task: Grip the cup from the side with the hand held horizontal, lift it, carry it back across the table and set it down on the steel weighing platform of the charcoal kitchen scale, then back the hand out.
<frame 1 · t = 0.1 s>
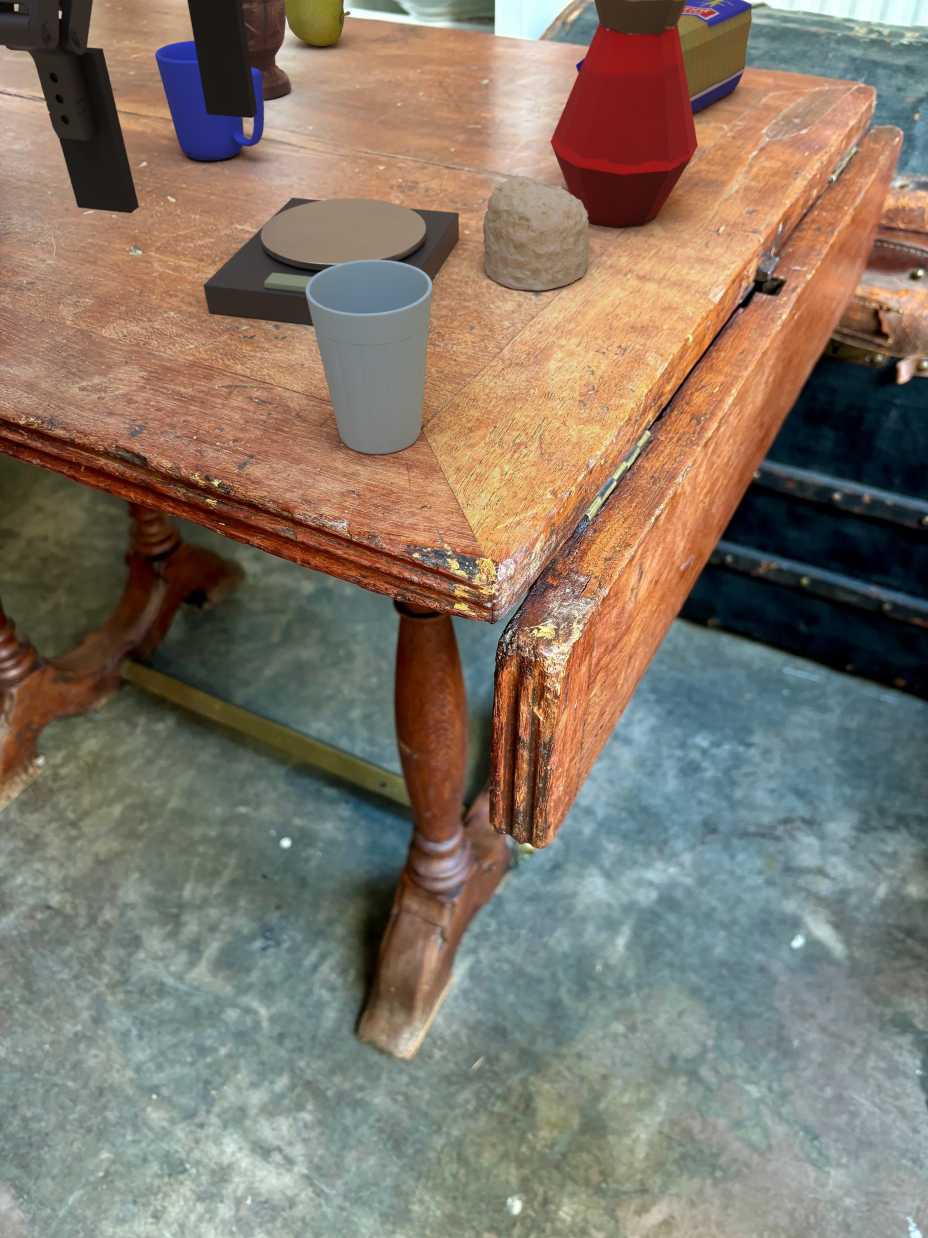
hand: (176, 157, 50), 20 cm above the table, tool pointing down, fingers open, 13 cm apart
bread: (663, 110, 118), on the table
cup: (380, 434, 68), on the table
apple: (321, 46, 140), on the table
red faceted vase: (617, 210, 96), on the table
rock: (535, 270, 86), on the table
scale: (341, 273, 86), on the table
mortar and pestle: (261, 97, 123), on the table
mug: (227, 157, 108), on the table
scale platform: (344, 232, 85), point 3 cm above the table, slide at 0.0 cm
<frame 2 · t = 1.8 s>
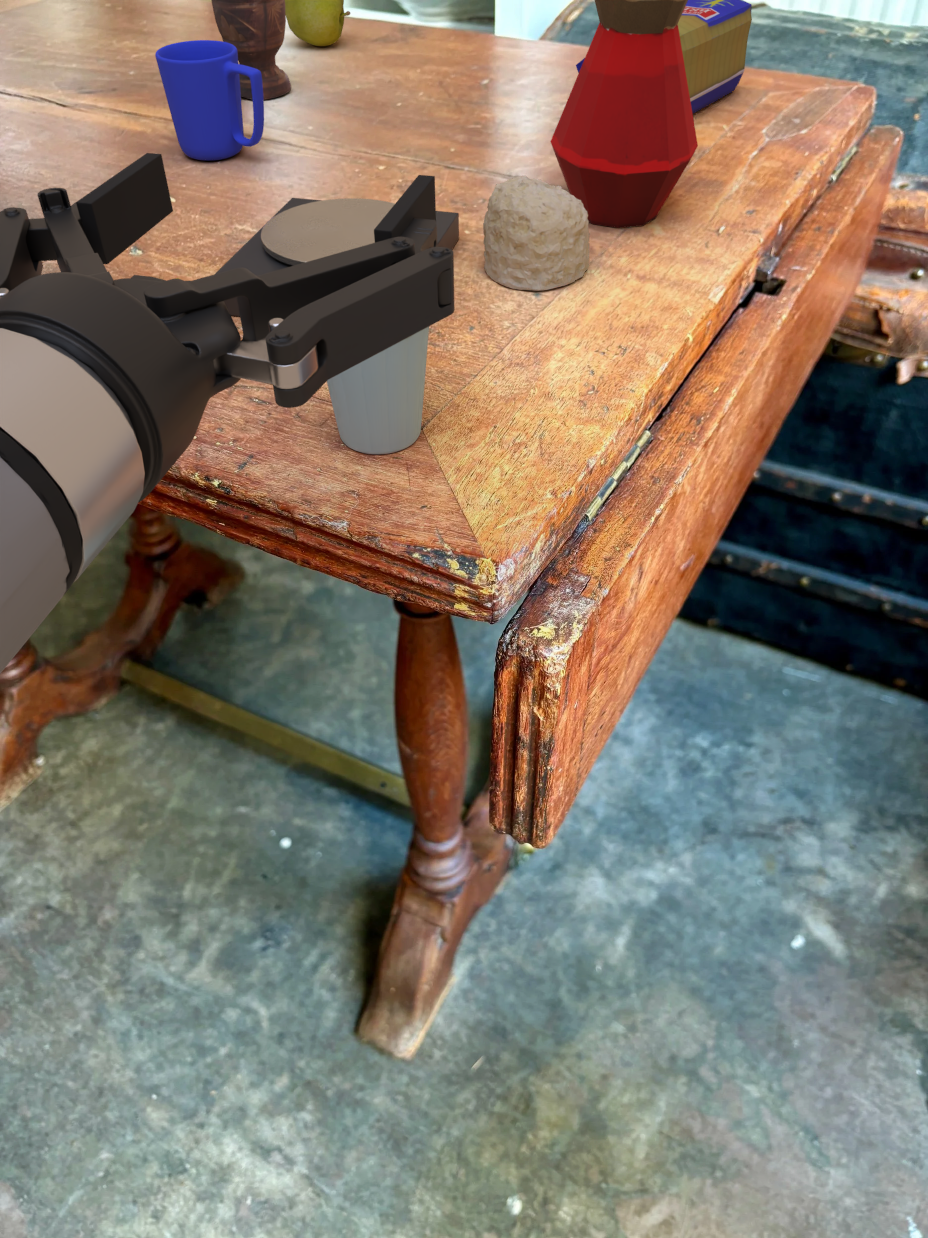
hand: (290, 193, 47), 19 cm above the table, tool horizontal, fingers open, 13 cm apart
nothing on the table moved.
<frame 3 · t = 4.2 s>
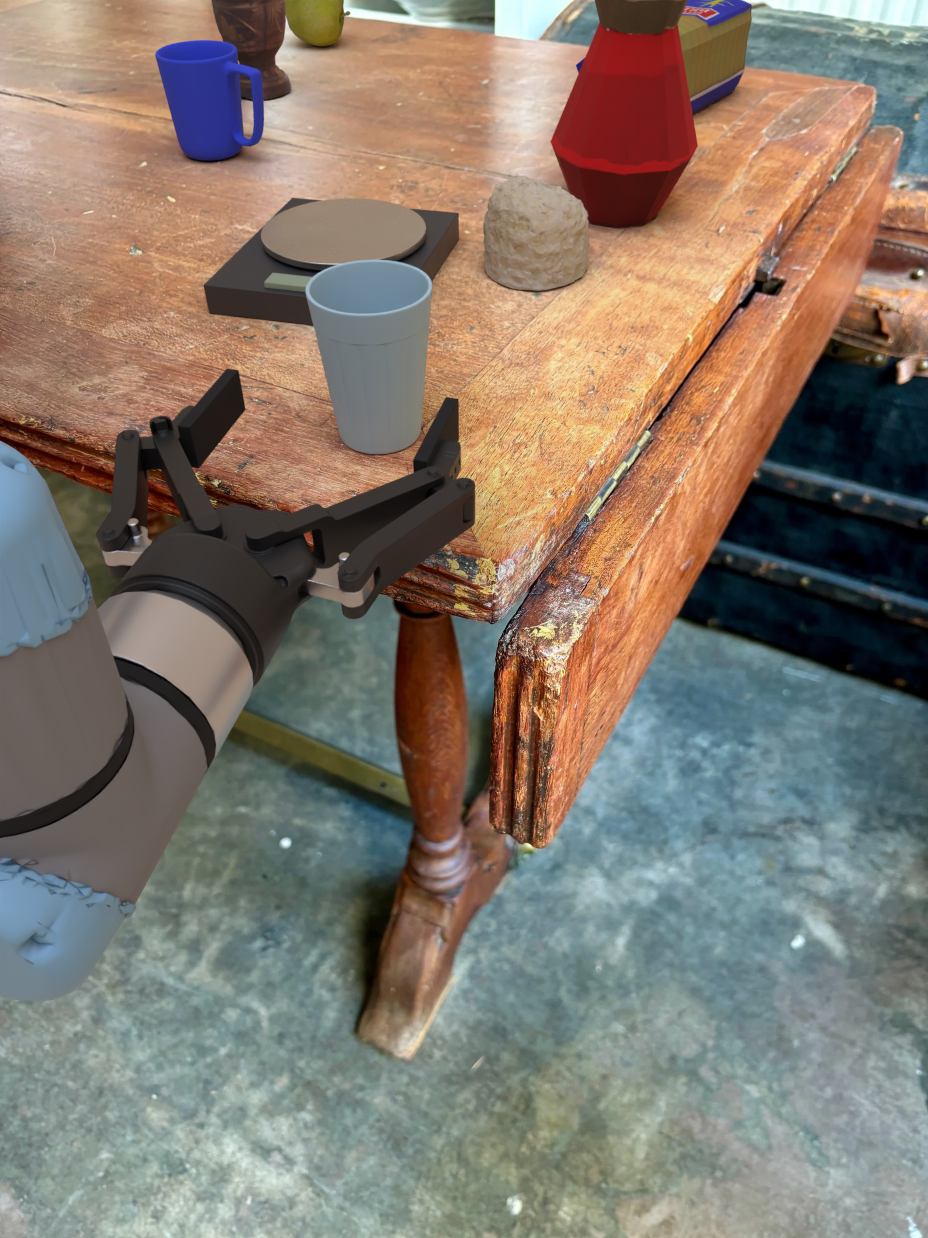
hand: (342, 402, 59), 6 cm above the table, tool horizontal, fingers open, 13 cm apart
nothing on the table moved.
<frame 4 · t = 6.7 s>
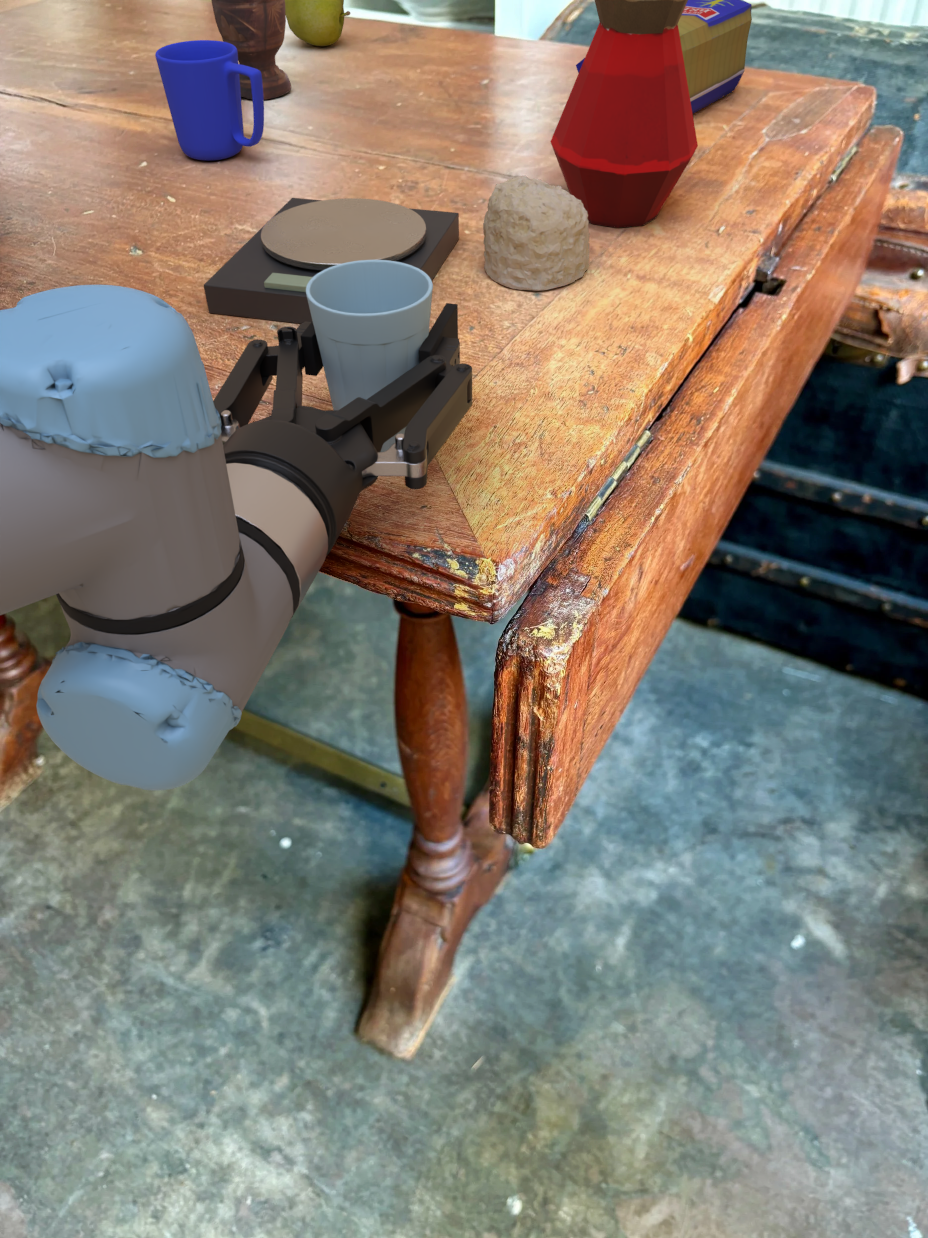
hand: (396, 316, 67), 6 cm above the table, tool horizontal, fingers closed on cup, 7 cm apart
cup: (380, 435, 68), on the table, touching gripper
everything else where it was.
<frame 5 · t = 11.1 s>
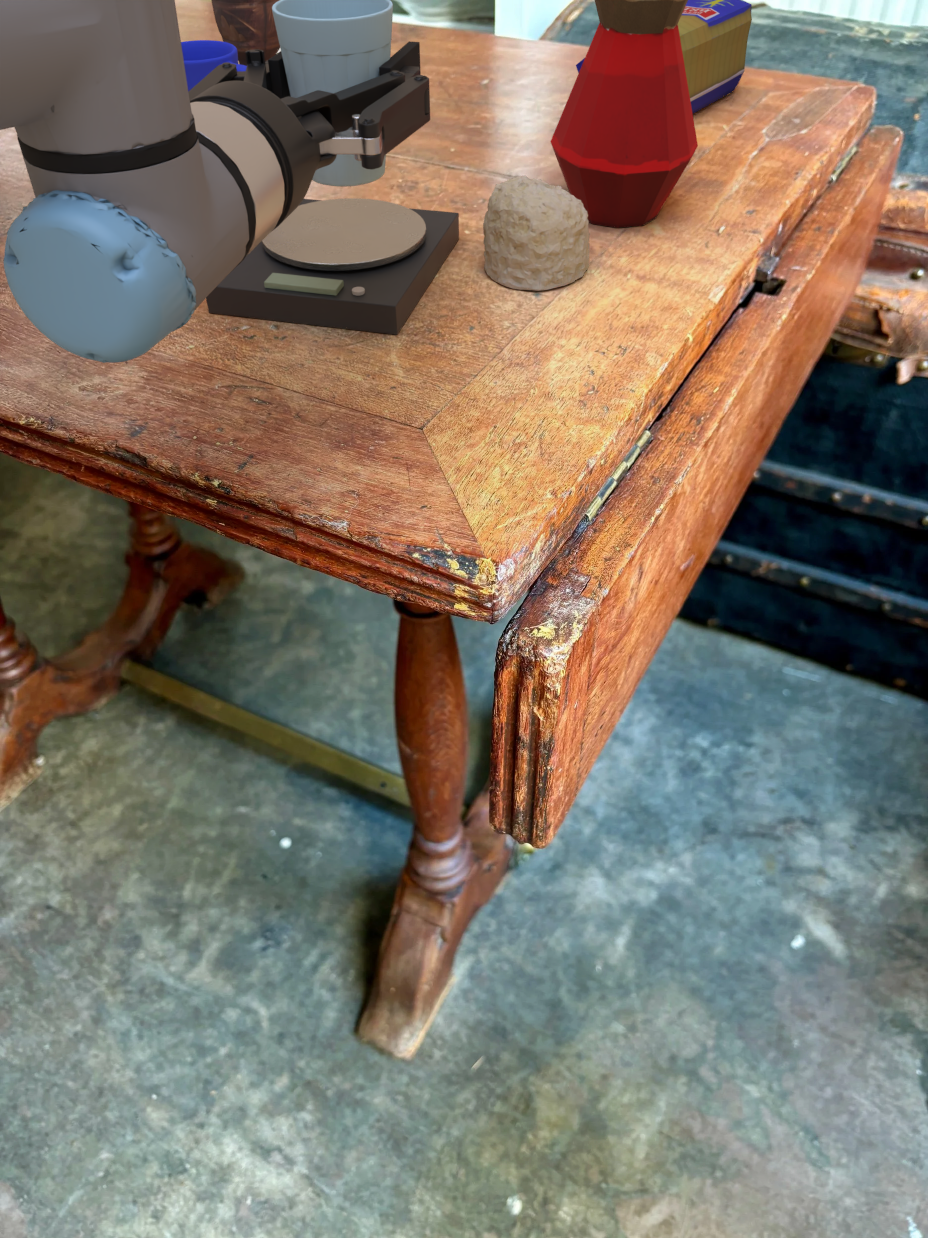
hand: (362, 59, 70), 18 cm above the table, tool horizontal, fingers closed on cup, 7 cm apart
cup: (346, 175, 71), point 12 cm above the table, touching gripper
everything else where it was.
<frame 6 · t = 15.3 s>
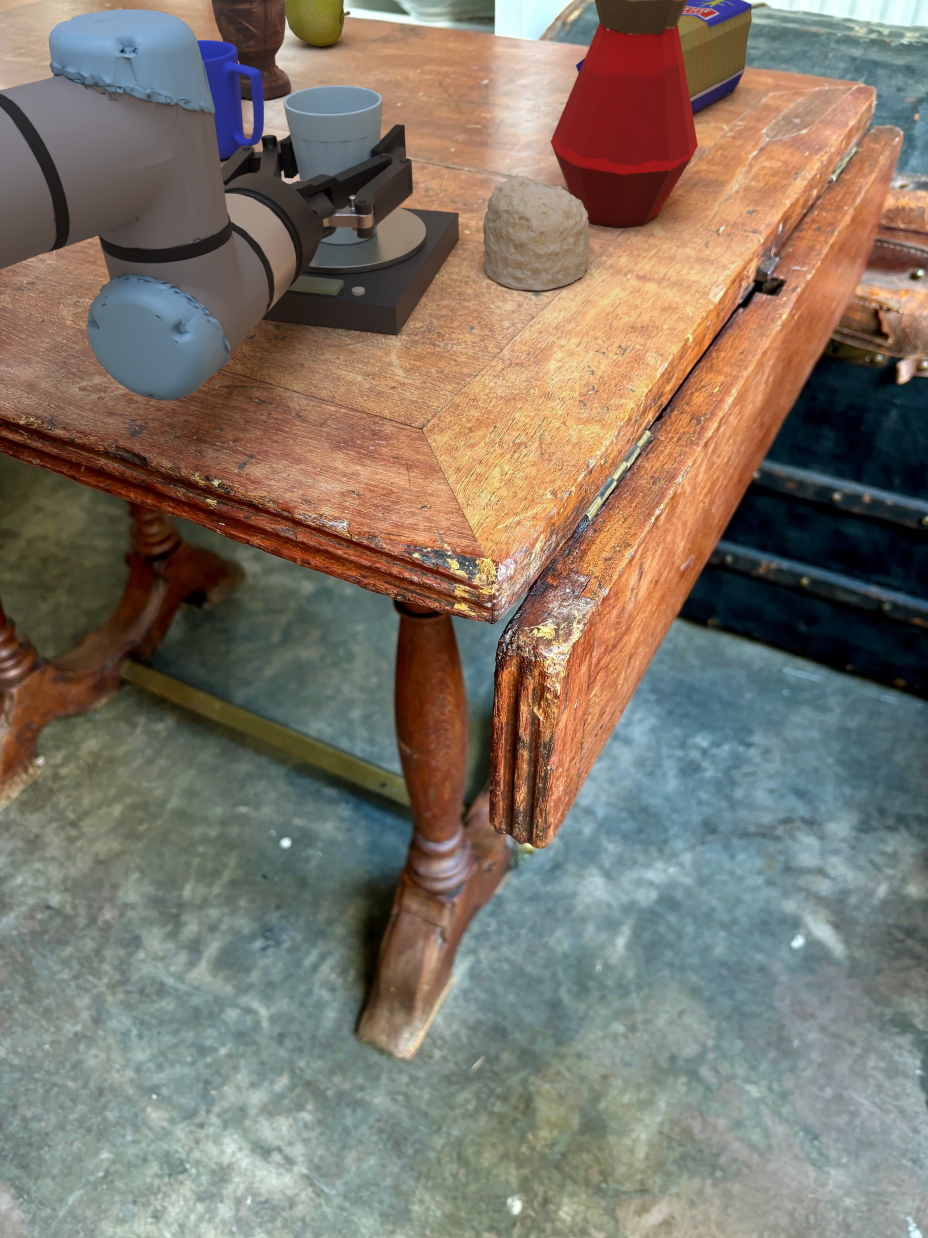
hand: (357, 138, 84), 9 cm above the table, tool horizontal, fingers closed on cup, 7 cm apart
cup: (344, 234, 85), point 3 cm above the table, touching gripper, scale platform
scale platform: (344, 235, 85), point 3 cm above the table, slide at -0.3 cm, touching cup
everything else where it was.
when the fingers open (9 cm above the table, at t = 15.3 s): cup stays where it is, resting on scale platform.
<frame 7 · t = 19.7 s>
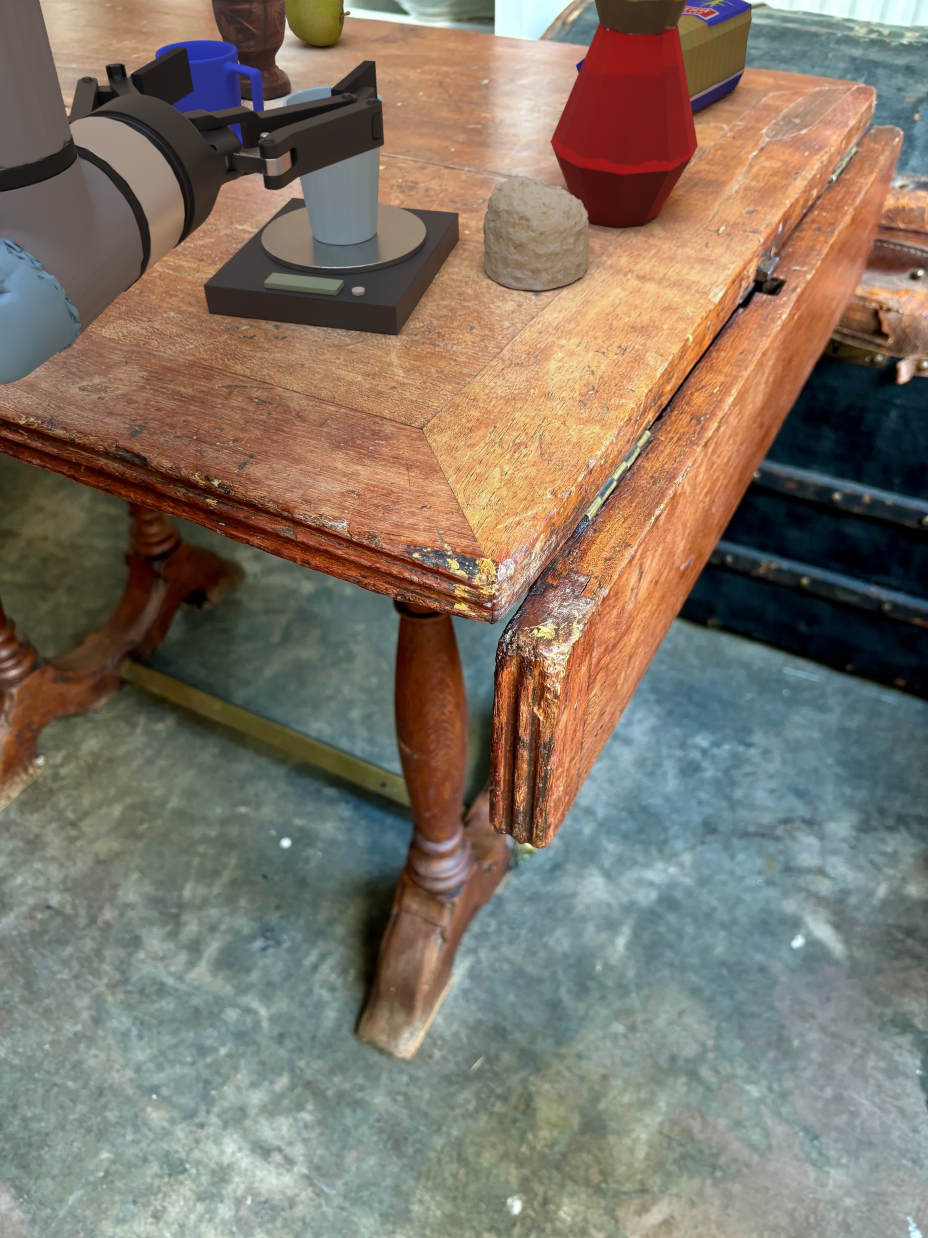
hand: (276, 75, 68), 18 cm above the table, tool horizontal, fingers open, 13 cm apart
cup: (344, 234, 85), point 3 cm above the table, touching scale platform
everything else where it was.
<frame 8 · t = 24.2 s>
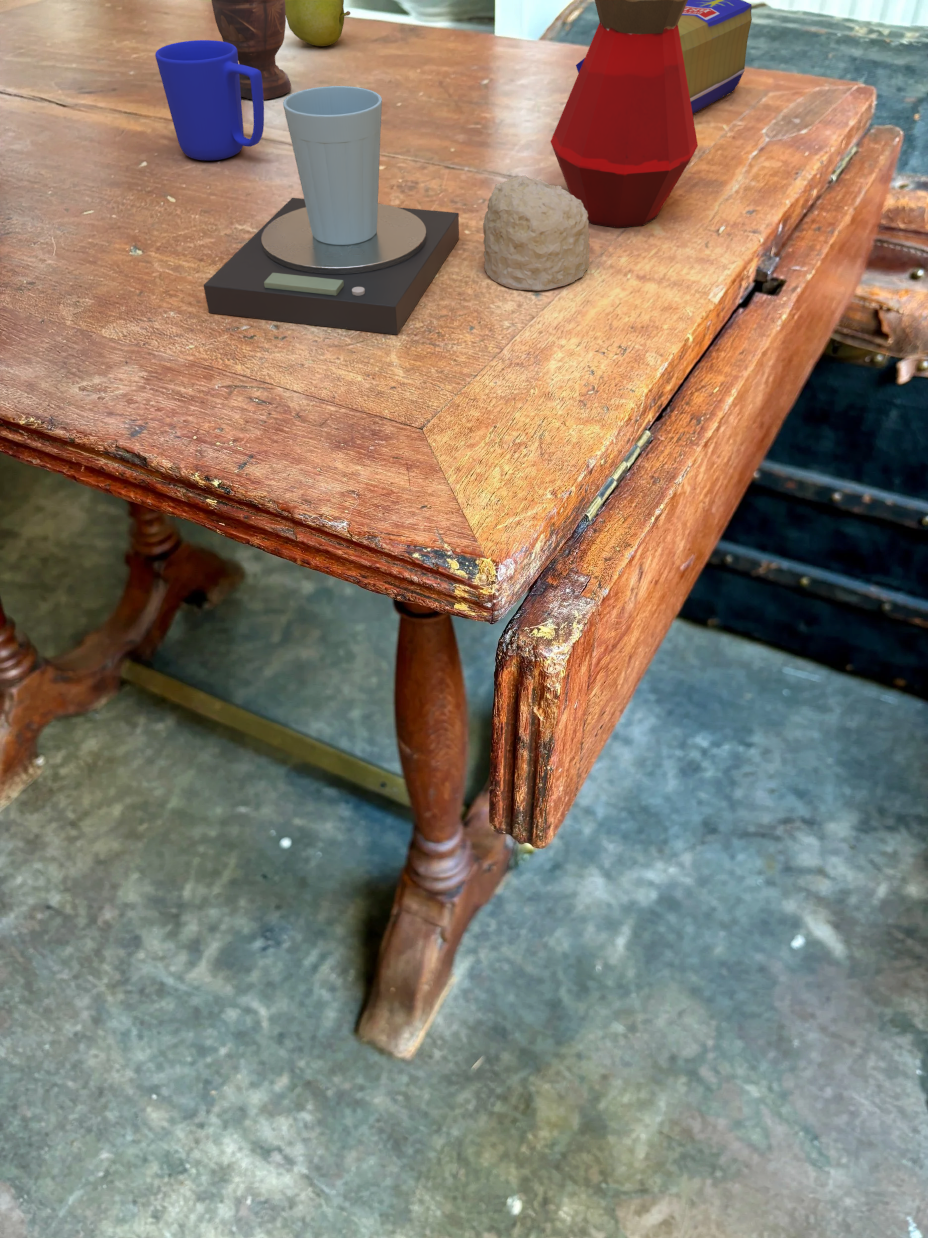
nothing on the table moved.
at the end: cup inside the target area on the scale (0.0 cm from its centre), point 2.8 cm above the scale's base; cup tilted 0°; the gripper is holding nothing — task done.
